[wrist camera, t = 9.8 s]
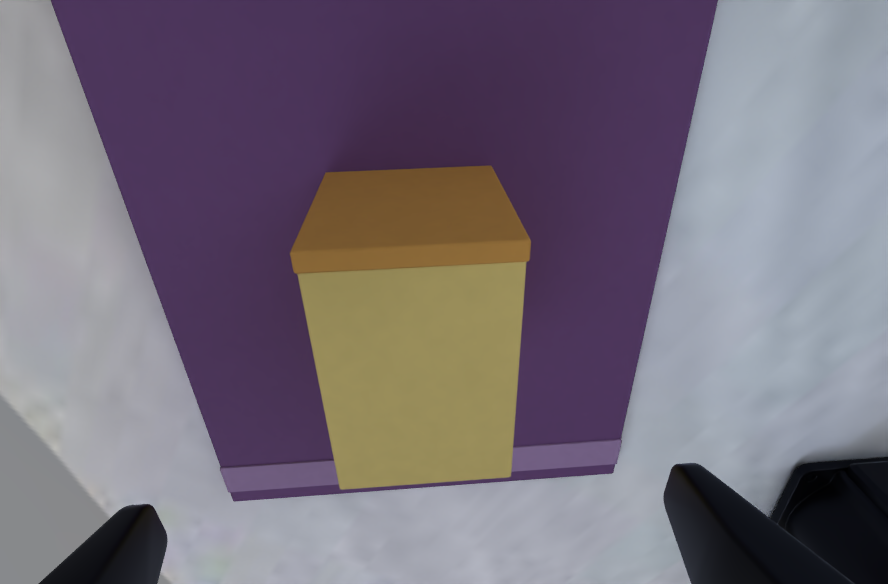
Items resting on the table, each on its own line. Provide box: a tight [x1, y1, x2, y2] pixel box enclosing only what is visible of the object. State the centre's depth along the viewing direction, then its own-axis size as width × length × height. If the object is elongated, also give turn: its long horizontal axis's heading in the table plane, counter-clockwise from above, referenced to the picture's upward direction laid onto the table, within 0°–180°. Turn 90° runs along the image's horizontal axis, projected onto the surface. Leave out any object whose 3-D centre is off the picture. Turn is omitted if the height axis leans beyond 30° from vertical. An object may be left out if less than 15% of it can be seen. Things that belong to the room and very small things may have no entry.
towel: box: [51, 0, 718, 501], centre depth 16 cm, size 20×16×1 cm
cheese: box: [290, 166, 531, 490], centre depth 14 cm, size 7×5×5 cm, turn 1°
